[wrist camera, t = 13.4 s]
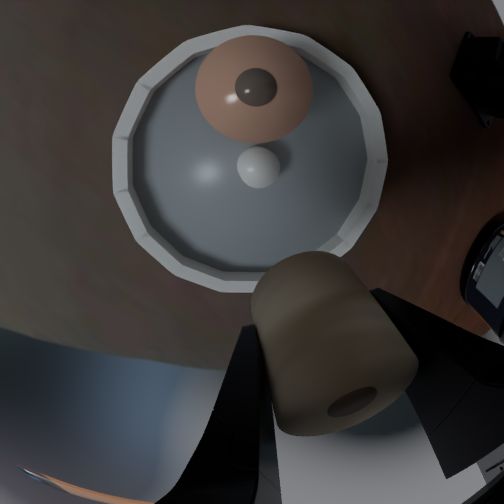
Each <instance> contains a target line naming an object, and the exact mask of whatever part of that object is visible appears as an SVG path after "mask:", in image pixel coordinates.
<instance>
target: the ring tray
mask: <svg viewBox="0 0 504 504" xmlns="http://www.w3.org/2000/svg"><path fill="white" fill-rule="evenodd" d="M248 35H259V36H266V37H270V38H273V39H276V40H278V41H281V42H283V43H284V44H286V45H288V46H289V47H291V48H292V49H293V50H294V51H295V52H296V53H297V54H298V55H299V56H300V57H301V58H302V59H303V61H304V62H305V64H306V66H307V67H308V70H309V72H310V75H311V78H312V84H313V97H312V102H311V106H310V109H309V111H308V113H307V115H306V116H305V118H304V120H303V121H302V122H301V123H300V124H299V126H297V127H296V128H295V129H294V130H293V131H292V132H290V133H289V134H287V135H285V136H284V137H282V138H279V139H277V140H274V141H270V142H265V143H245V142H240V141H236V140H234V139H231V138H229V137H227V136H225V135H223V134H221V133H220V132H218V131H217V130H216V129H214V128H213V127H212V126H211V125H210V124H209V123H208V121H207V120H206V119H205V118H204V116H203V115H202V113H201V111H200V109H199V106H198V103H197V100H196V94H195V83H196V77H197V73H198V70H199V68H200V66H201V64H202V62H203V61H204V59H205V58H206V57H207V56H208V54H209V53H210V52H211V51H212V50H214V49H215V48H216V47H217V46H219V45H220V44H222V43H224V42H226V41H228V40H230V39H233V38H236V37H241V36H248ZM186 42H187V43H186ZM186 42H183V43H182V44H181V45H179V46H178V47H177V48H175V49H174V50H173V51H172V52H170V53H169V54H168V55H167V56H165V57H164V58H163V59H162V60H161V61H159V62H158V63H157V64H156V65H155V66H154V67H153V68H151V69H150V70H149V71H148V72H147V73H146V74H145V75H144V76H142V77H141V78H140V79H139V80H138V82H139V83H138V82H137V83H136V85H135V87H134V89H133V91H132V93H131V95H130V97H129V99H128V101H127V103H126V106H125V108H124V110H123V112H122V114H121V117H120V119H119V121H118V124H117V126H116V129H115V131H114V133H113V136H114V137H112V174H113V193H114V196H115V198H116V200H117V203H118V205H119V207H120V209H121V211H122V213H123V215H124V218H125V220H126V222H127V224H128V226H129V228H130V230H131V232H132V234H133V236H134V238H135V240H136V241H137V243H138V244H140V245H141V246H142V247H143V248H144V249H145V250H146V251H147V252H148V253H150V254H151V255H152V256H153V257H154V258H155V259H156V260H157V261H159V262H160V263H161V264H162V265H163V266H164V267H165V268H167V269H168V270H169V271H170V272H171V273H172V274H174V275H175V276H178V277H180V278H183V279H186V280H188V281H191V282H194V283H197V284H199V285H202V286H205V287H208V288H210V289H213V290H216V291H219V292H253V291H254V289H255V287H256V285H257V283H258V282H259V280H260V279H261V277H262V276H263V275H264V274H265V273H266V272H267V271H268V270H269V269H270V268H271V267H272V266H274V265H275V264H277V263H278V262H280V261H281V260H283V259H285V258H287V257H289V256H292V255H295V254H298V253H302V252H307V251H324V252H329V253H332V254H335V255H337V256H339V257H341V256H342V255H344V254H345V253H346V252H347V251H349V250H350V249H351V248H352V247H353V245H354V244H355V242H356V241H357V239H358V238H359V236H360V235H361V233H362V232H363V230H364V229H365V227H366V226H367V224H368V223H369V221H370V220H371V218H372V216H373V215H374V213H375V212H376V210H377V209H376V208H378V205H379V201H380V196H381V192H382V188H383V184H384V179H385V175H386V170H387V165H388V162H387V161H388V156H387V149H386V142H385V135H384V129H383V123H382V118H381V113H379V112H380V111H379V109H378V107H377V105H376V104H375V102H374V100H373V99H372V97H371V95H370V94H369V92H368V90H367V89H366V87H365V85H364V84H363V82H362V81H361V79H360V78H359V76H358V75H357V73H356V72H355V70H354V69H353V68H352V67H351V66H350V65H349V64H347V63H346V62H345V61H343V60H342V59H341V58H339V57H338V56H336V55H335V54H334V53H332V52H331V51H329V50H328V49H326V48H325V47H323V46H322V45H320V44H319V43H317V42H316V41H314V40H312V39H311V38H309V37H308V36H305V35H302V34H298V33H293V32H288V31H283V30H278V29H272V28H266V27H259V26H252V25H243V26H238V27H233V28H229V29H225V30H221V31H217V32H213V33H210V34H206V35H203V36H199V37H196V38H193V39H190V40H187V41H186ZM350 247H351V248H350Z"/></svg>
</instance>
